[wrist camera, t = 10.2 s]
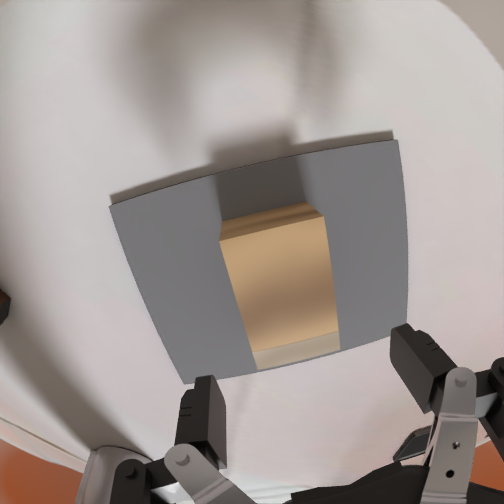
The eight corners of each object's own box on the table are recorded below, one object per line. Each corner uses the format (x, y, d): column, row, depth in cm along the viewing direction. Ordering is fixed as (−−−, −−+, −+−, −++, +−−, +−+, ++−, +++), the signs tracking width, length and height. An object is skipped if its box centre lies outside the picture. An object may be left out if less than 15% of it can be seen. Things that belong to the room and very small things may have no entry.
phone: (457, 440, 34) (391, 463, 33) (455, 436, 35) (389, 458, 34) (479, 412, 32) (413, 436, 30) (476, 408, 33) (410, 430, 31)
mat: (184, 379, 24) (184, 384, 24) (112, 204, 19) (108, 206, 18) (402, 326, 24) (405, 330, 23) (393, 139, 18) (397, 139, 17)
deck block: (222, 221, 19) (218, 241, 15) (306, 201, 19) (324, 216, 15) (254, 334, 22) (258, 370, 18) (324, 317, 22) (340, 349, 18)
